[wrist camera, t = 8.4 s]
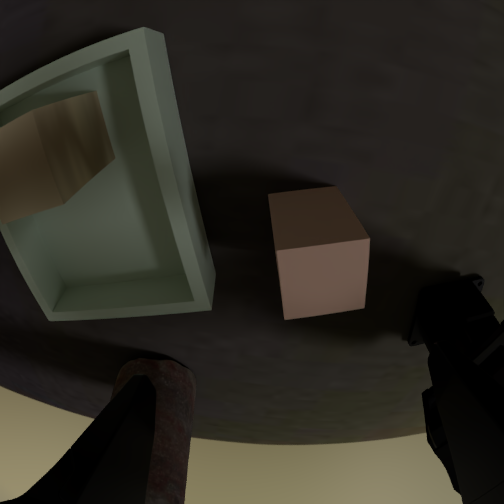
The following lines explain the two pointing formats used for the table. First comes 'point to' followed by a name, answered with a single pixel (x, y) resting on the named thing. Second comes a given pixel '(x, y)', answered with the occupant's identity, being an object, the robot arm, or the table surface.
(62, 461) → the robot arm
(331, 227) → the coral block
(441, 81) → the table surface
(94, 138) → the maple block
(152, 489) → the candle
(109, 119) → the sage tub
